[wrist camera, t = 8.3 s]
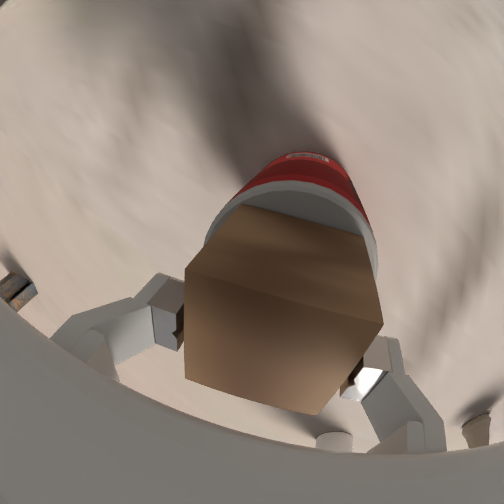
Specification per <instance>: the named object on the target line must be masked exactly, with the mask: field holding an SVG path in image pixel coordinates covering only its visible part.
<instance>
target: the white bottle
mask: <svg viewBox="0 0 504 504" xmlns="http://www.w3.org/2000/svg"><path fill="white" fill-rule="evenodd" d="M352 446H353V437H352V435H350V434H348V433H344V432H328V433H324V434H321V435H319V436H318V437H317V440H316V447H315V448H318V449H325V450H333V451H342V452H352Z"/></svg>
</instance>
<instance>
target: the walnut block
mask: <svg viewBox="0 0 504 504" xmlns="http://www.w3.org/2000/svg"><path fill="white" fill-rule="evenodd" d="M383 325H384V323H383V317H382V312H381V307H380V302H379V297H378V292H377V288H376V283H375V279H374V275H373V270H372V266H371V262H370V258H369V255H368V251H367V247H366V243H365V240H364V237H362V236H360V235H357V234H353V233H350V232H347V231H343V230H340V229H336V228H333V227H330V226H326V225H323V224H319V223H316V222H312V221H308V220H305V219H301V218H298V217H294V216H290V215H286V214H283V213H279V212H275V211H271V210H267V209H263V208H260V207H256V206H252V205H246V204H240V206H239V207H238V208H237V209H236V210H235V211H234V212H233V213H232V215H231V216H230V217H229V218H228V219H227V220H226V221H225V223H224V224H223V225H222V226H221V227H220V228H219V229H218V231H217V232H216V233H215V234H214V235H213V236H212V238H211V239H210V240H209V241H208V242H207V243H206V244H205V246H204V247H203V248H202V249H201V250H200V252H199V253H198V254H197V255H196V256H195V257H194V259H193V260H192V261H191V262H190V263H189V265H188V266H187V267H186V268H185V282H184V362H185V378H186V379H188V380H191V381H194V382H196V383H199V384H202V385H204V386H207V387H210V388H213V389H216V390H219V391H222V392H225V393H228V394H231V395H234V396H238V397H241V398H244V399H248V400H251V401H255V402H258V403H262V404H266V405H270V406H274V407H278V408H282V409H286V410H290V411H295V412H299V413H304V414H309V415H314V416H316V415H317V414H318V413H319V412H320V411H321V409H322V408H323V407H324V406H325V405H326V404H327V402H328V401H329V400H330V399H331V398H332V396H333V395H334V394H335V393H336V391H337V390H338V389H339V388H340V386H341V385H342V384H343V382H344V381H345V380H346V379H347V377H348V376H349V375H350V373H351V372H352V370H353V369H354V368H355V366H356V365H357V364H358V362H359V361H360V359H361V358H362V357H363V355H364V354H365V352H366V351H367V349H368V348H369V346H370V345H371V343H372V342H373V340H374V339H375V337H376V336H377V334H378V333H379V331H380V330H381V328H382V326H383Z"/></svg>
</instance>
